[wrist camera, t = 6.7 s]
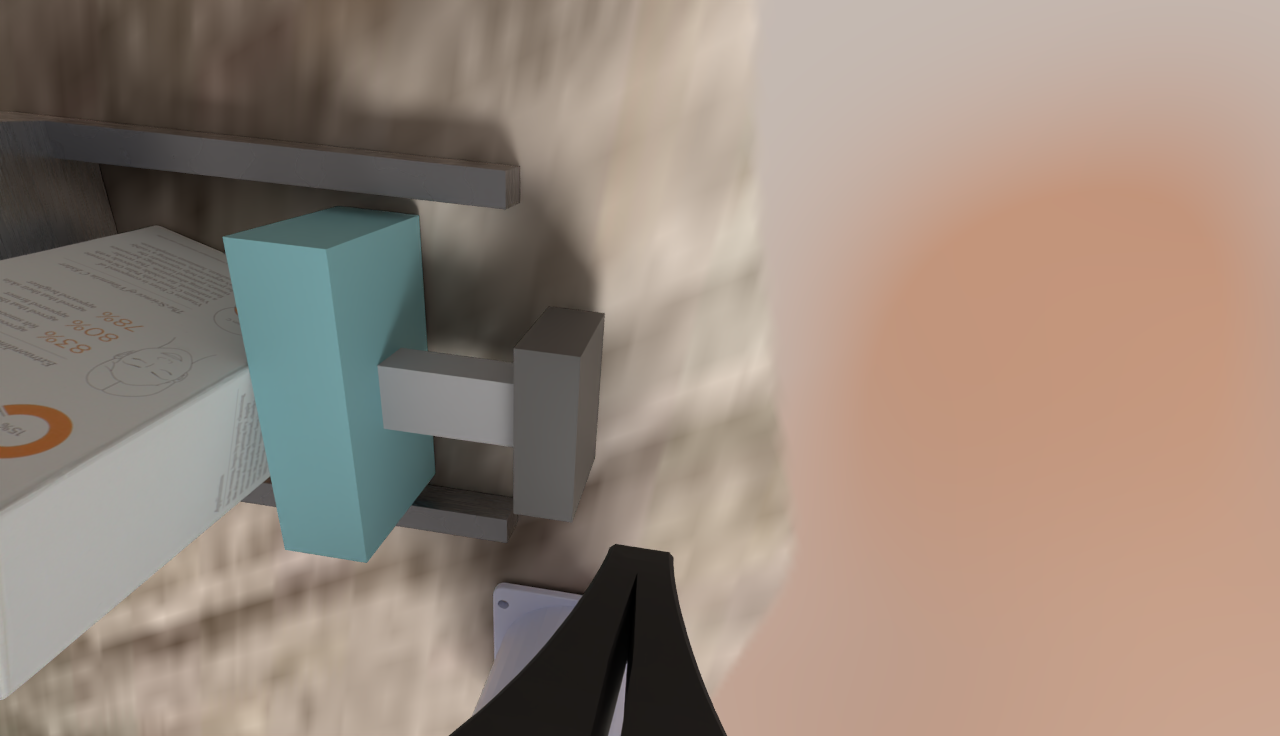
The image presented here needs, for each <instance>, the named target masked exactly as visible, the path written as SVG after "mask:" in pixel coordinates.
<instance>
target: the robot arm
mask: <svg viewBox="0 0 1280 736" xmlns="http://www.w3.org/2000/svg"><path fill="white" fill-rule="evenodd" d="M502 600H504V601H506V602H504V601H502ZM493 618H494V663H493V665H492V668H491V670H490V673H489V675H488V678H487V680H486V683H485V685H484V688H483V690H482V693H481V695H480V697H479V700H478V702H477V705H476V707H475V710H474V712H473V715H472V717H471V718H470V719H468V720H467V721H466V722H465V723H464V724H462V725H461V726H460V727H459V728H458V729H456V730H455V731H454V732H453V733H452V734H450V735H449V736H727V735H726V733H725V731H724V728H723V726H722V724H721V722H720V720H719V717H718V715H717V713H716V711H715V709H714V706H713V704H712V702H711V699H710V697H709V695H708V692H707V690H706V687H705V685H704V682H703V680H702V677H701V674H700V672H699V669H698V666H697V663H696V660H695V657H694V654H693V651H692V648H691V645H690V642H689V639H688V635H687V632H686V628H685V624H684V621H683V617H682V613H681V609H680V605H679V600H678V595H677V590H676V584H675V577H674V566H673V556H672V555H671V554H670V553H669V552H663V551H657V550H650V549H644V548H637V547H631V546H625V545H618V544H615V545H613V546H611V547H610V549H609V551H608V553H607V556H606V558H605V560H604V561H603V563H602V565H601V567H600V569H599V571H598V572H597V574H596V576H595V577H594V579H593V580H592V582H591V584H590V585H589V587H588V588H587V590H586V591H585V593H584V594H583V595H578V594H572V593H566V592H560V591H553V590H547V589H541V588H535V587H529V586H522V585H516V584H510V583H500V584H498V585H497V586H496V587H495V590H494V592H493Z"/></svg>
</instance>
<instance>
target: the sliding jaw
mask: <svg viewBox="0 0 1280 736" xmlns="http://www.w3.org/2000/svg"><path fill="white" fill-rule="evenodd" d="M222 238H223V243H224V248H225V253H226V257H227V262H228V267H229V272H230V277H231V282H232V287H233V292H234V297H235V302H236V307H237V312H238V317H239V322H240V327H241V332H242V337H243V342H244V347H245V352H246V357H247V362H248V367H249V372H250V377H251V382H252V387H253V392H254V397H255V402H256V407H257V412H258V417H259V422H260V427H261V432H262V437H263V442H264V447H265V452H266V457H267V462H268V467H269V472H270V477H271V482H272V487H273V492H274V497H275V502H276V507H277V512H278V517H279V521H280V526H281V531H282V536H283V541H284V546H285V550H290V551H297V552H303V553H309V554H315V555H321V556H327V557H334V558H340V559H346V560H352V561H358V562H364V563H367V562H368V561H369V559H370V558H371V557H372V555H373V554H374V553H375V552H376V550H377V549H378V548H379V546H380V545H381V544H382V542H383V541H384V540H385V539H386V537H387V536H388V535H389V533H390V532H391V531H392V530H393V528H394V527H395V526H396V524H397V523H398V522H399V520H400V519H401V518H402V517H403V515H404V514H405V513H406V511H407V510H408V509H409V507H410V506H411V505H412V504H413V502H414V501H415V500H416V498H417V497H418V496H419V494H420V493H421V492H422V491H423V489H424V488H425V487H426V485H427V484H428V483H429V481H430V480H431V479H432V478H433V476H434V475H435V460H434V444H433V436H438V437H445V438H452V439H459V440H466V441H473V442H480V443H487V444H494V445H501V446H508V447H513V514H519V515H526V516H532V517H539V518H545V519H552V520H559V521H565V522H572V521H573V519H574V516H575V513H576V510H577V507H578V504H579V502H580V499H581V496H582V493H583V490H584V487H585V485H586V482H587V479H588V476H589V473H590V470H591V468H592V465H593V462H594V459H595V450H596V435H597V420H598V406H599V391H600V376H601V361H602V346H603V332H604V317H605V313H598V312H590V311H582V310H574V309H566V308H558V307H550V306H549V307H548V308H547V309H546V311H545V312H544V313H543V314H542V315H541V316H540V318H539V319H538V320H537V321H536V322H535V324H534V325H533V326H532V327H531V328H530V329H529V331H528V332H527V333H526V334H525V335H524V337H523V338H522V339H521V340H520V341H519V342H518V344H517V345H516V346H515V347H514V363H512V362H504V361H497V360H489V359H482V358H474V357H467V356H459V355H452V354H444V353H437V352H429V351H428V350H427V334H426V318H425V302H424V287H423V271H422V255H421V240H420V224H419V215H413V214H404V213H395V212H387V211H378V210H369V209H361V208H352V207H343V206H336V207H333V208H329V209H325V210H321V211H318V212H314V213H310V214H306V215H303V216H299V217H295V218H291V219H287V220H284V221H280V222H276V223H272V224H269V225H265V226H261V227H257V228H254V229H250V230H246V231H242V232H239V233H235V234H231V235H227V236H223V237H222Z"/></svg>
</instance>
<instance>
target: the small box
mask: <svg viewBox="0 0 1280 736" xmlns="http://www.w3.org/2000/svg"><path fill="white" fill-rule="evenodd" d="M269 477H270V472H269V467H268V462H267V457H266V452H265V447H264V442H263V437H262V432H261V427H260V422H259V417H258V412H257V407H256V402H255V397H254V392H253V387H252V382H251V377H250V372H249V367H248V362H247V357H246V352H245V347H244V342H243V337H242V332H241V327H240V322H239V317H238V312H237V307H236V302H235V297H234V292H233V287H232V282H231V277H230V272H229V267H228V262H227V257H226V254H225V253H223V252H220V251H218V250H216V249H213V248H211V247H208V246H206V245H203V244H201V243H199V242H196V241H194V240H192V239H189V238H187V237H185V236H182V235H180V234H178V233H175V232H173V231H171V230H168V229H166V228H163V227H161V226H158V225H155V226H151V227H146V228H143V229H138V230H134V231H130V232H125V233H121V234H116V235H112V236H107V237H102V238H97V239H93V240H89V241H85V242H81V243H76V244H72V245H67V246H63V247H59V248H54V249H50V250H45V251H41V252H36V253H32V254H27V255H23V256H18V257H14V258H9V259H4V260H0V700H3V699H5V698H6V697H8V696H9V695H10V694H12V693H13V692H14V691H15V690H16V689H18V688H19V687H20V686H21V685H23V684H24V683H25V682H26V681H27V680H29V679H30V678H31V677H32V676H33V675H35V674H36V673H37V672H38V671H39V670H41V669H42V668H43V667H44V666H45V665H46V664H48V663H49V662H50V661H51V660H52V659H54V658H55V657H56V656H57V655H58V654H59V653H61V652H62V651H63V650H64V649H65V648H66V647H68V646H69V645H70V644H71V643H72V642H74V641H75V640H76V639H77V638H78V637H79V636H81V635H82V634H83V633H84V632H85V631H87V630H88V629H89V628H90V627H91V626H93V625H94V624H95V623H96V622H97V621H99V620H100V619H101V618H102V617H103V616H105V615H106V614H107V613H108V612H109V611H110V610H112V609H113V608H114V607H115V606H116V605H118V604H119V603H120V602H121V601H122V600H124V599H125V598H126V597H127V596H128V595H130V594H131V593H132V592H133V591H134V590H135V589H137V588H138V587H139V586H140V585H141V584H143V583H144V582H145V581H146V580H147V579H148V578H150V577H151V576H152V575H153V574H154V573H155V572H157V571H158V570H159V569H160V568H161V567H163V566H164V565H165V564H166V563H168V562H169V561H170V560H171V559H172V558H173V557H175V556H176V555H177V554H178V553H179V552H180V551H182V550H183V549H184V548H185V547H186V546H188V545H189V544H190V543H191V542H192V541H194V540H195V539H196V538H197V537H198V536H199V535H201V534H202V533H203V532H204V531H205V530H207V529H208V528H209V527H210V526H211V525H213V524H214V523H215V522H216V521H217V520H219V519H220V518H221V517H222V516H223V515H225V514H226V513H227V512H228V511H229V510H231V509H232V508H233V507H234V506H235V505H237V504H238V503H239V502H240V501H241V500H242V499H244V498H245V497H246V496H247V495H249V494H250V493H251V492H252V491H253V490H254V489H256V488H257V487H258V486H259V485H260V484H262V483H263V482H264V481H265V480H266V479H267V478H269Z"/></svg>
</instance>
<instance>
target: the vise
mask: <svg viewBox="0 0 1280 736" xmlns="http://www.w3.org/2000/svg"><path fill="white" fill-rule="evenodd" d="M98 163H102V164H111V165H119V166H128V167H137V168H146V169H155V170H163V171H172V172H181V173H190V174H199V175H207V176H216V177H225V178H234V179H243V180H251V181H260V182H269V183H278V184H287V185H295V186H304V187H313V188H322V189H331V190H339V191H348V192H357V193H366V194H375V195H384V196H392V197H401V198H410V199H419V200H428V201H436V202H445V203H454V204H463V205H472V206H480V207H489V208H498V209H507V208H509V207H511V206H514V205H516V204H518V203H520V166H512V165H502V164H493V163H484V162H475V161H465V160H456V159H447V158H437V157H428V156H419V155H410V154H400V153H391V152H382V151H373V150H363V149H354V148H345V147H335V146H326V145H317V144H308V143H298V142H289V141H280V140H270V139H261V138H252V137H243V136H233V135H224V134H215V133H206V132H196V131H187V130H178V129H168V128H159V127H150V126H141V125H131V124H122V123H113V122H104V121H94V120H85V119H76V118H66V117H57V116H48V115H39V114H29V113H20V112H11V111H7V112H0V260H4V259H9V258H14V257H18V256H23V255H27V254H32V253H36V252H41V251H45V250H50V249H54V248H59V247H63V246H67V245H72V244H76V243H81V242H85V241H89V240H93V239H97V238H102V237H107V236H112V235H116V234H117V230H116V226H115V223H114V219H113V215H112V212H111V208H110V204H109V201H108V197H107V193H106V190H105V186H104V182H103V179H102V175H101V171H100V168H99V164H98ZM241 502H247V503H254V504H260V505H266V506H273V507H276V502H275V497H274V492H273V487H272V482H271V477H269V478H267V479H266V480H265V481H264V482H263V483H262V484H260V485H259V486H258V487H257V488H256V489H254V490H253V491H252V492H251V493H250V494H249V495H247V496H246V497H245V498H244V499H242V500H241ZM517 522H518V514H513V498H512V497H505V496H499V495H492V494H485V493H479V492H472V491H465V490H459V489H452V488H446V487H439V486H432V485H426V487H425V488H424V489H423V491H422V492H421V493H420V494H419V496H418V497H417V498H416V500H415V501H414V502H413V504H412V505H411V506H410V507H409V509H408V510H407V511H406V513H405V514H404V515H403V517H402V518H401V519H400V520H399V522H398V523H397V524H396V526H401V527H407V528H413V529H420V530H426V531H433V532H439V533H445V534H452V535H458V536H465V537H471V538H477V539H484V540H490V541H497V542H503V543H507V542H508V540H509V538H510V536H511V534H512V532H513V530H514V528H515V526H516V524H517Z"/></svg>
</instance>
